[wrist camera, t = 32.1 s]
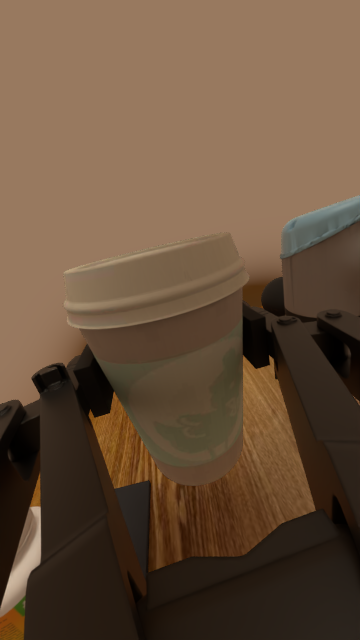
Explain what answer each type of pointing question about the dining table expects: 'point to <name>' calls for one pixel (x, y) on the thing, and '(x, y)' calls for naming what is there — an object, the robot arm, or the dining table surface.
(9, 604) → the supplement bottle
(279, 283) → the speaker
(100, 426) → the dining table surface
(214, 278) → the coffee cup
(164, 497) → the dining table surface
